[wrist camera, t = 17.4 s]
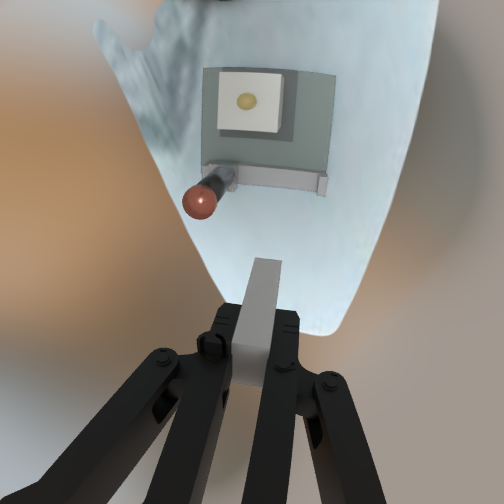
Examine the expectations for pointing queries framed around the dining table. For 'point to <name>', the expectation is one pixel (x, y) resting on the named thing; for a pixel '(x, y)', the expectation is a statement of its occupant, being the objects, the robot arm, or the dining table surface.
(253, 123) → the housing
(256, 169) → the base plate
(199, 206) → the lever
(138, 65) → the dining table surface
